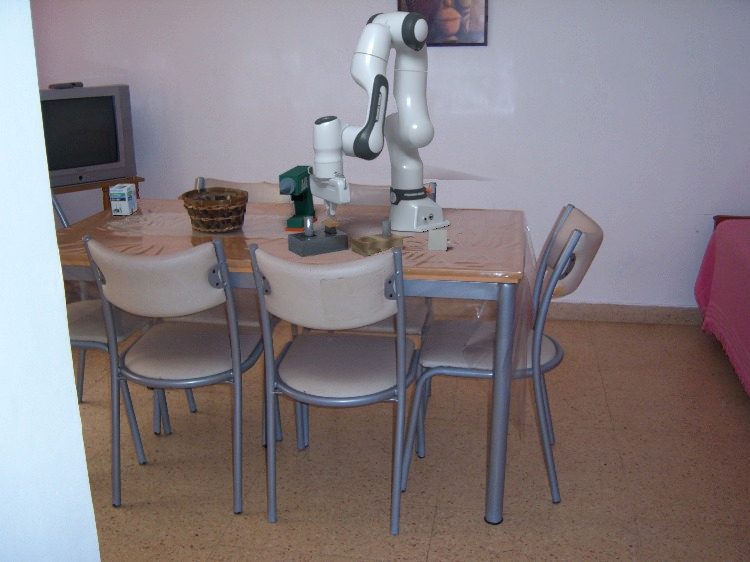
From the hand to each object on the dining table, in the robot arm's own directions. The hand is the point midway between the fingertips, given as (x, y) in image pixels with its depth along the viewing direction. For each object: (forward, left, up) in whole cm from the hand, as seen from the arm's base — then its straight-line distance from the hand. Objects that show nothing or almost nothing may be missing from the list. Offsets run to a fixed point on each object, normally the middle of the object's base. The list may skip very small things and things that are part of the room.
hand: (331, 214), depth 246 cm
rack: (-10, +11, -11) cm, 18 cm away
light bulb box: (+42, -90, -11) cm, 100 cm away
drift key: (+1, 0, -10) cm, 10 cm away
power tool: (-1, -28, -11) cm, 30 cm away
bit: (+8, 0, -11) cm, 13 cm away
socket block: (+5, 0, -11) cm, 12 cm away
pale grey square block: (-25, +22, -12) cm, 35 cm away
